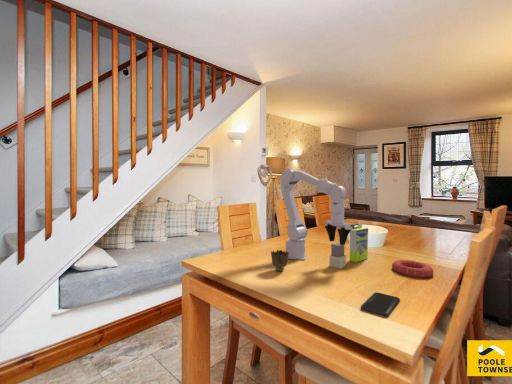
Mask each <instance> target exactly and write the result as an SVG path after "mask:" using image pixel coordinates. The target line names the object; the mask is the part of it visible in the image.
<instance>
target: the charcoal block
mask: <svg viewBox="0 0 512 384" xmlns="http://www.w3.org/2000/svg"><path fill="white" fill-rule="evenodd" d="M330 245H331V247H330V248H331V253H330V254H331V255H333V256H335V257H342V256H344V255H345V245H340V242H338V243H331V244H330ZM331 255H330V256H331Z"/></svg>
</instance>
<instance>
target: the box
mask: <svg viewBox="0 0 512 384" xmlns="http://www.w3.org/2000/svg"><path fill="white" fill-rule="evenodd" d="M349 225H350V229H351V231H350V233H349V262H352V263H357V262H361V261H364V260H367V259H368V250H369V249H368V247H369V228H368V227H364V226H363V223H362V222H358V223H353V224H349Z"/></svg>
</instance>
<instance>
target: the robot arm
mask: <svg viewBox="0 0 512 384" xmlns="http://www.w3.org/2000/svg"><path fill="white" fill-rule="evenodd" d="M280 180H281V182H280V190H281V193H282V198H283V201H284V206H285V210H286V213H287V217H288V221H289V222H288V224H287V236H288V239H285V252H286V251H287V252H289V254H288V260H289V259H290V260H301V261H305V260H306V258H307V254H306V246H305V245H306V237H307V235H308V233H309V231H308V229H307V227H306V226H305V222H304V221H303V220H302V219H301V218H300V214H299V210H298V205H297V202H296V198H295V195H294V191H293V189H294V187H295V185H297V184H298V183H299V182H300V181H304V182H306V183H308V184H311V185H314V186H315V188H316V189H317V190H318V191H320V192H322V193H324V194H326V195H327V196H329V198H330V199H331V200H330V201H331V203H330V220H329V219H327V220H325V224H326V225H324V228H325V230H326V232H327V235H328V240H329V241H330V242H335V239H336V232H338V236H339V237H338V238H339V243H340V245H344V246H345V245H346V242H347V239H348V236H349V235H350V231H351V229H350V225H351V224H348V223H346V222H345V197H346V196H347V189H346V188H345V187H344V186H343V185H338V184H337V183H336V182H331V181H329V179H328V178H320V179H319V178H317V177H315V176H313V175H311V174H309V173H307V172H305V171H303V170H300V169H290V168H285V169H284V170H283V171H282V172H281V174H280Z"/></svg>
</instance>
